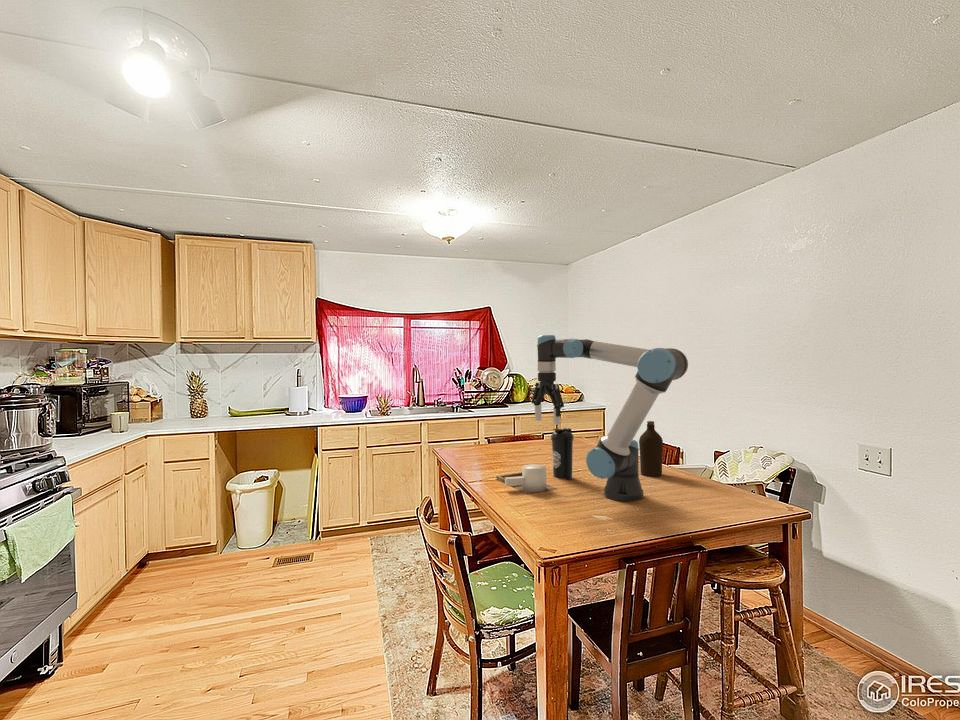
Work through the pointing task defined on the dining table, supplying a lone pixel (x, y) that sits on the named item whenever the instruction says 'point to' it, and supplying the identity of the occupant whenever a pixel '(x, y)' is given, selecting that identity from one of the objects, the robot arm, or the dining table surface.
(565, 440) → the water bottle
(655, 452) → the olive oil
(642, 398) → the robot arm
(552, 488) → the brown flat rectangular tray
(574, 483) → the dining table surface
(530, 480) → the white pot with handle
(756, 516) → the dining table surface
